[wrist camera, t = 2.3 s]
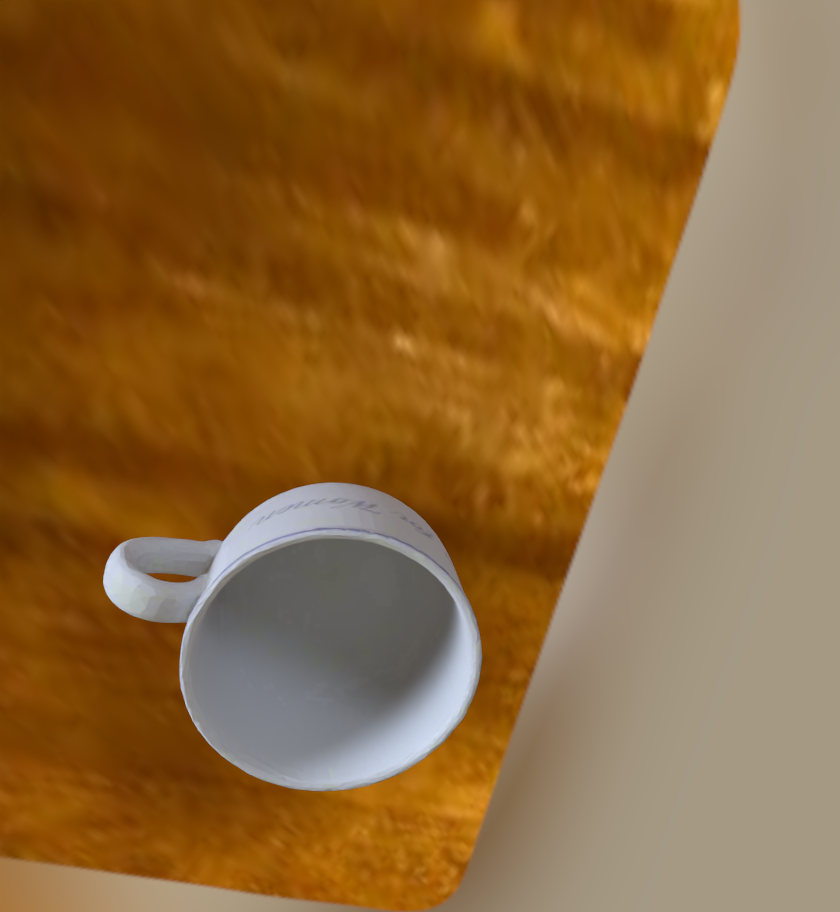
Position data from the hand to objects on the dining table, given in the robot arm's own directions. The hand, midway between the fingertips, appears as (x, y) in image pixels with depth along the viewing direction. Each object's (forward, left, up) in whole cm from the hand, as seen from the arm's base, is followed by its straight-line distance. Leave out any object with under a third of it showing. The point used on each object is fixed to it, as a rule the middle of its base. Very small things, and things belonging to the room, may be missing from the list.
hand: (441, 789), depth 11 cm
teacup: (+4, +6, -24) cm, 26 cm away
